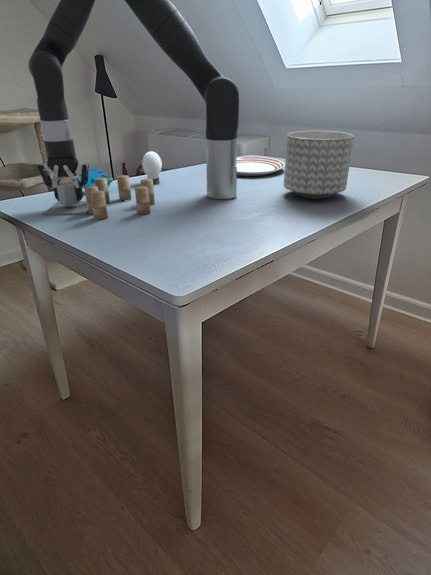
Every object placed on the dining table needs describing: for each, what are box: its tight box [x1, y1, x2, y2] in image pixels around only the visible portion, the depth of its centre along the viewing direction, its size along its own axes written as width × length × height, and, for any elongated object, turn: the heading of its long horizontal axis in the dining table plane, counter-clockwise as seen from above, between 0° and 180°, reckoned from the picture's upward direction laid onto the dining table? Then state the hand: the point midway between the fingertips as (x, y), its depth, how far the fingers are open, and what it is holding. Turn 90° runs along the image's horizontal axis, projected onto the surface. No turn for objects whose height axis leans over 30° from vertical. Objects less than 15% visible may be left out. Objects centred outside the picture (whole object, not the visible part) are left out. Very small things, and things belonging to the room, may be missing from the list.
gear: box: [78, 166, 114, 189], centre depth 131 cm, size 11×6×10 cm
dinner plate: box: [236, 156, 285, 177], centre depth 157 cm, size 27×27×3 cm
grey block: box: [56, 180, 80, 205], centre depth 112 cm, size 5×6×6 cm
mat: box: [42, 200, 89, 216], centre depth 114 cm, size 12×12×1 cm
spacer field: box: [83, 174, 156, 221], centre depth 113 cm, size 18×22×7 cm
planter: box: [283, 130, 354, 200], centre depth 119 cm, size 19×19×18 cm
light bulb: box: [141, 150, 163, 186], centre depth 137 cm, size 7×7×11 cm
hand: (69, 200), depth 113 cm, fingers closed on grey block, 5 cm apart
